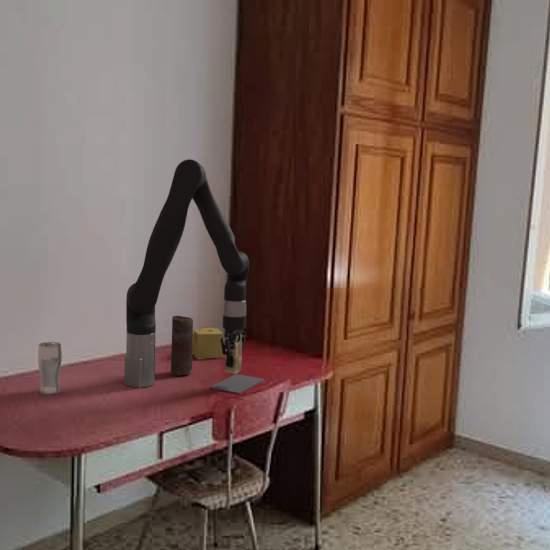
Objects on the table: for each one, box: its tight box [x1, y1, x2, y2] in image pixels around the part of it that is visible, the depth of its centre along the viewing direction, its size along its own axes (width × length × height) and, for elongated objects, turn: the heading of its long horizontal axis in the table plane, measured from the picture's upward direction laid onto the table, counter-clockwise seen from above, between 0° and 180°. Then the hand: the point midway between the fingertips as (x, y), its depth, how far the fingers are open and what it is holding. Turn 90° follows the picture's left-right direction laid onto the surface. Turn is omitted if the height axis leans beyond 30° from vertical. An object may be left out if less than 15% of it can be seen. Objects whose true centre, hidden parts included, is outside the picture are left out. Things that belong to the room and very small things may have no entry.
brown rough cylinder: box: [170, 315, 194, 377], centre depth 245 cm, size 8×7×20 cm
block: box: [224, 341, 243, 375], centre depth 233 cm, size 4×4×10 cm
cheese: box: [192, 327, 225, 360], centre depth 272 cm, size 10×11×10 cm
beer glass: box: [37, 341, 63, 395], centre depth 220 cm, size 7×7×15 cm
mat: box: [209, 373, 265, 395], centre depth 238 cm, size 18×11×1 cm, turn 155°
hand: (233, 364), depth 233 cm, fingers closed on block, 4 cm apart
